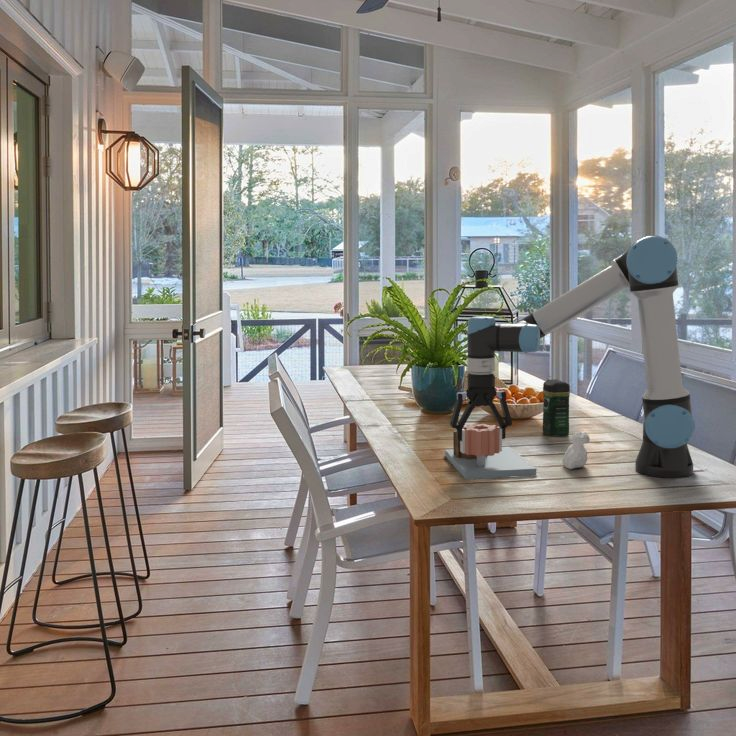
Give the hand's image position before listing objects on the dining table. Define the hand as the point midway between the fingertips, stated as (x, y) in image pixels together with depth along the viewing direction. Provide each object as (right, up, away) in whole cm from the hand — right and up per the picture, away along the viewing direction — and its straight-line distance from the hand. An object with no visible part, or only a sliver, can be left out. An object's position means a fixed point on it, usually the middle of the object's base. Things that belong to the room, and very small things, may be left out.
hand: (481, 451), depth 222 cm
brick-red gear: (0, 0, 0) cm, 0 cm away
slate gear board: (+3, -5, +8) cm, 10 cm away
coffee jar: (+32, +1, +46) cm, 56 cm away
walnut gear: (-1, -2, +12) cm, 13 cm away
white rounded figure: (+28, -5, +5) cm, 29 cm away
